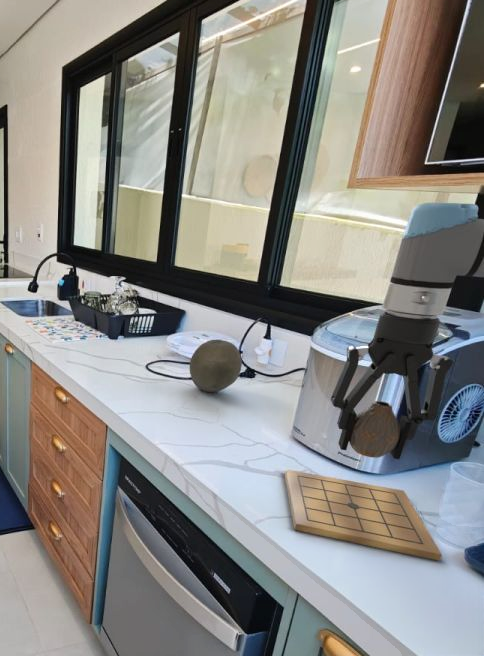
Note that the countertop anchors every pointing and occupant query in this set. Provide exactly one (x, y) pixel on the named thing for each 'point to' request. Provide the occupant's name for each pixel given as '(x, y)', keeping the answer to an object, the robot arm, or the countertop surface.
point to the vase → (375, 430)
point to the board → (358, 514)
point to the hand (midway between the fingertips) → (367, 450)
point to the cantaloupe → (215, 365)
